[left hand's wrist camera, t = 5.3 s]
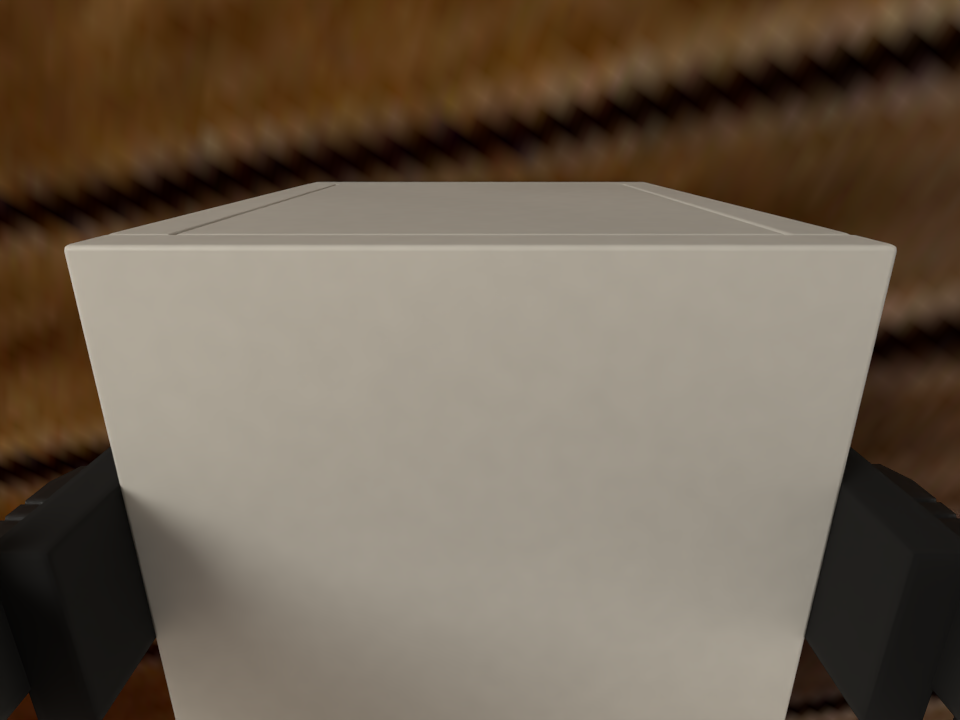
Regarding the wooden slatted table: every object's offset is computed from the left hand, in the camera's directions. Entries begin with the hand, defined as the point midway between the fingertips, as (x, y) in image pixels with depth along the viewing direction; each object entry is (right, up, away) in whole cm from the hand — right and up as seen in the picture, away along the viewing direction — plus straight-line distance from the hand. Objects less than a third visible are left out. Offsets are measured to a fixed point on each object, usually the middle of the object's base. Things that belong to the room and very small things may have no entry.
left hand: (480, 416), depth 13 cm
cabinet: (0, -4, +8) cm, 9 cm away
